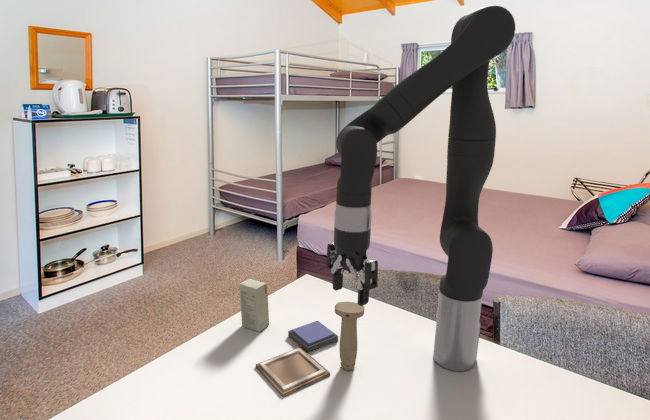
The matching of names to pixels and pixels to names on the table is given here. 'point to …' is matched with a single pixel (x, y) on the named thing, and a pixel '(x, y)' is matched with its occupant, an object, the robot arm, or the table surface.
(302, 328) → the ink pad
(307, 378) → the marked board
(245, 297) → the skincare box
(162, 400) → the table surface
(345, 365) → the handle
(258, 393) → the table surface
